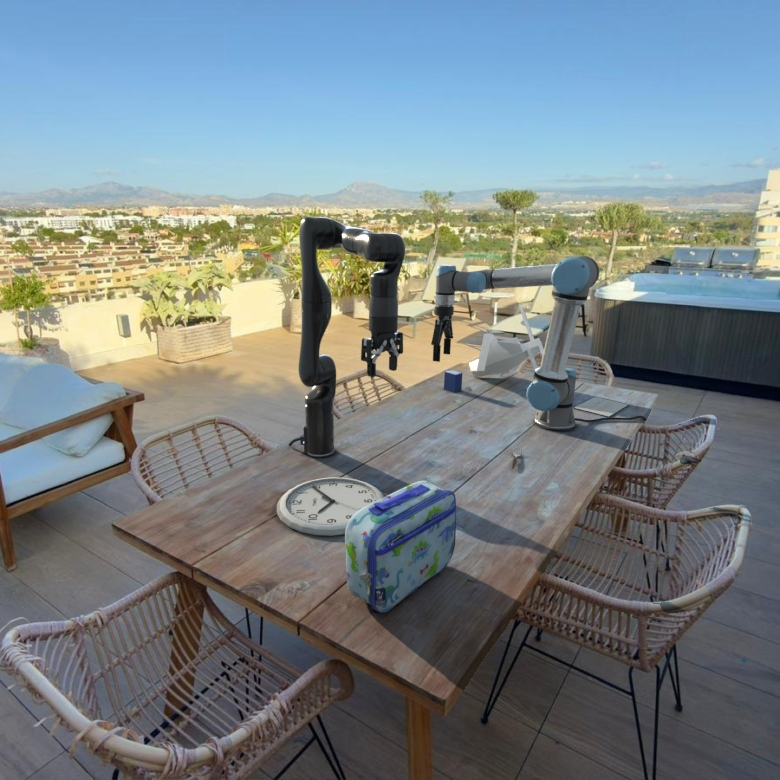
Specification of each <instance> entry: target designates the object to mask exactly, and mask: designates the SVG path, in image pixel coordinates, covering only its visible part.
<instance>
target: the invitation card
mask: <svg viewBox="0 0 780 780" xmlns="http://www.w3.org/2000/svg"><path fill="white" fill-rule="evenodd" d="M628 406H629V404H627V403H623V402H618V401H614V400H609V399H605V398H601V397H596V396H593V397H592V398H590V399H588V400H586V401H584V402H582V403H580V404H578V405H575V406H574V407H573V409H575V410H581V411H584V412H587V413H593V414H596V415H600V416H604V417H607V418H610V417H612V416H613V415H614V414H616V413H617V412H619V411H621V410H623V409H624V408H626V407H628Z"/></svg>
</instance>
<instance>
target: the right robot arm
mask: <svg viewBox="0 0 780 780" xmlns="http://www.w3.org/2000/svg"><path fill="white" fill-rule="evenodd" d="M599 277H600V266H599V264H598V262H597V261H596V260H595V259H593V258H592V257H590V256H587V255H579V256H569V257H566V258H564V259H562V260H561V261H559V262H558V263H551V264H541V265H540V264H539V265H530V266H529V265H528V266H515V267H503V268H502V267H501V268H495V269H493V268H492V269H489V268H487V269H486V268H485V269H481V270H473V271H462V270H461V271H459V270H457V266H456V265H455V264H439V265H438V266H437V267H436V273H435V295H434V296H433V298H434V304H435V305H434V312H433V313H434V316H437V317H438V318H437V319H435V320H434V329H433V334H432V339H431V343H430V345H431V346H433V347H432V362H437V363H440V362H441V348H442V347H441V346H442V345H441V342H442V338H443V334H444V338H443V351H442V352H443V355H451V347H452V339H454V331H453V322H452V318H453V317H452V316H454V312H455V311H454V310H455V306H454V305H455V295H456V294H455V293H456V292H463V293H471V294H480V293H483V292H484V290H495V289H511V288H512V289H513V288H530V287H548V286H552V290H551V297H552V298H553V300H554V303H553V307H552V311H551V317H550V320H549V326H548V330H547V335H546V339H545V344H544V347H543V348H544V352H543V357H542V356H541V357H542V358H541V361H540V366H537V367H538V368H537V369H535V372H534V373H533V378H532V382H531V383H530V384H529V385H528V387H527V389H526V394H525V395H526V399H527V402H528V403H529V404H530V406H531V407H532V408H534V409H535V410H536V413H535V416H534V424H535V425H536V426H537V427H539V428H542V429H544V430H549V431H556V432H567V431H572V430H574V429H575V428H576V421H577V422H583V423H595V422H600V421H611V420H612V421H614V420H616V421H632V420H636V419H643V420H644V421H647V418H646V417H645V416H643V415H636V416H632V417H601V418H600V417H599V418H595V419H585V418H584V419H583V418H577V417H576V416H575V413H574V407H573V405H574V398H575V390H576V383H577V379H578V378H577V371H576V370H575V369H574V368H571V367H567V365H568V359H569V355H570V351H571V348H572V343H573V339H574V334H575V331H576V327H577V323H578V318H579V313H580V311H581V310H580V309H581V305H582V304H584V303H586V302H587V300H588V298H589V297H588V296H589V293H590V289H591V288H593V286H594V285H595V284H596V283H597V282H598V280H599Z"/></svg>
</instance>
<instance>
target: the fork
mask: <svg viewBox="0 0 780 780" xmlns="http://www.w3.org/2000/svg"><path fill="white" fill-rule="evenodd" d="M522 451H523V447H519V446H516V445H515V447H514V449H513V453H512V455H513V456H514V458H513V460H512V467H511V470H513V469H514V468H515V466H516V465H517V462H518V461H517V460H518V458H519V457H521V456H522Z"/></svg>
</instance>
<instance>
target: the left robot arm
mask: <svg viewBox="0 0 780 780" xmlns="http://www.w3.org/2000/svg"><path fill="white" fill-rule="evenodd" d="M298 233H299V235H298V238H299V239H298V240H299V252H300V266H301V297H300V298H301V299H300V300H301V303H300V304H301V306H300V307H301V308H300V310H301V313H300V314H301V332H300V334H301V335H300V347H299V348H300V349H299V356H298V376H299V379H300V382H301V383H302V384H303V386H305V387H307V388H311V389H310V390H309V392H307V394H306V395H305V396H304V413H305V414H304V415H305V416H304V417H305V425H304V426H303V429H302V430H303V434H302V435H300V437H295V438H294V439H292V440H291V441H290V442H289V443H288V446H289V447H292V446H293V444H294V443H296V442H299V441H300V446H303V453H304V454H305V455H308V456H309V457H312V458H327V457H329V456H332V455H333V454H335V440H336V436H335V424H334V423H335V421H334V419H335V418H334V413H335V412H334V399H335V396H336V393H337V366H336V363H335V361H334V359H333V358H332V357H331V356H330V355H328V354H325V353H324V354H323V353H322V354H320V349H321V343H322V340H323V338H324V336H325V333H326V331H327V329H328V327H329V324H330V321H331V319H332V312H333V311H332V310H333V308H332V307H333V306H332V305H333V296H332V291H331V289H330V287H329V285H328V284H327V282H326V279H325V278H324V276H323V275H322V273H321V271H320V268H319V263H318V257H317V256H318V255H317V254H318V253H317V252H318V251H328V250H334V249H343V250H344V251H345V252H346V253H348V254H350V255H354V256H358V257H360V258H363V259H364V260H366V261H368V262H371V263H383V266H382V268H381V269H380V270H378V271H375V272H373V273H372V274H371V275H370V277H369V278H370V279H369V280H370V281H369V301H368V331H369V332H370V337H369V338H367V337H362V338H361V348H360V360H361V361H362V362H366V374H367V376H368V377H371V378H375V377H376V376H377V374H376V373H377V366H376V365H377V363H376V362H377V360H378V358H379V357H380V356H381V355H382V353H385V352H387V353H388V355H389V356H388V370H389V371H393V372H395V371H397V370H398V369H397V368H398V358H399V356H400V355H403V353H404V333H403V332H400V331H398V326H399V324H398V322H399V301H398V288H399V287H398V286H399V284H398V281H399V277H400V274H401V270H402V266H403V263H404V260H405V256H406V243H405V240H404V238H403V236H402V235H400V234H399V233H394V232H374V231H372V230H369V229H365V228H360V227H354V226H353V227H351V226H348V225H345V224H343V223H341V222H340V221H338V220H335V219H333V218H330V217H322V216H305V217H303V218H302V220H301V221H300V224H299V232H298Z"/></svg>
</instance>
